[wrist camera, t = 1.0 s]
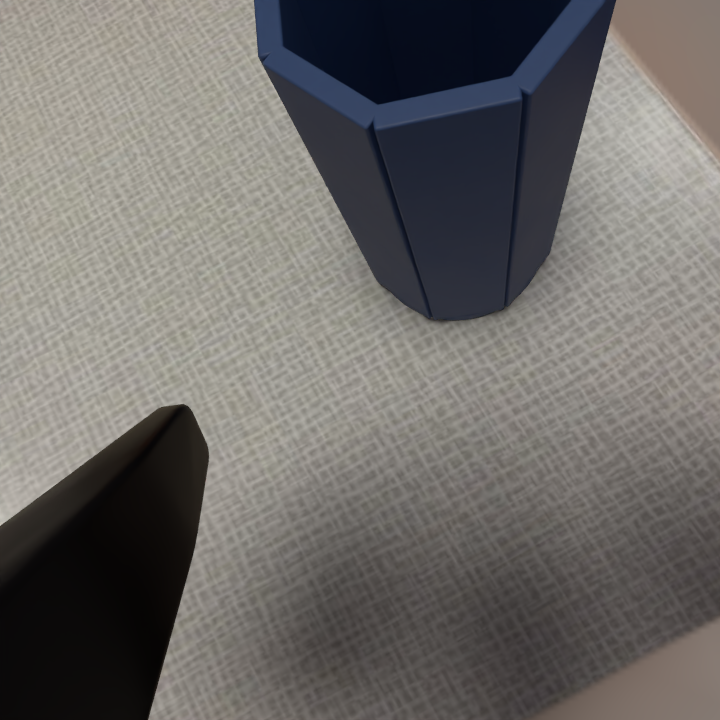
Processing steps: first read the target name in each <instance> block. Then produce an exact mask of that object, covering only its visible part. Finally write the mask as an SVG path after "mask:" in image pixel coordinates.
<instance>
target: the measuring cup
mask: <svg viewBox="0 0 720 720" xmlns="http://www.w3.org/2000/svg"><path fill="white" fill-rule="evenodd" d="M615 2H616V0H254V6H255V19H256V32H257V45H258V57H259V59H260V61H261V63H262V65H263V66H264V68H265V70H266V72H267V74H268V76H269V78H270V80H271V82H272V83H273V85H274V87H275V89H276V91H277V93H278V95H279V97H280V99H281V100H282V102H283V104H284V106H285V108H286V110H287V112H288V114H289V116H290V117H291V119H292V121H293V123H294V125H295V127H296V129H297V131H298V133H299V134H300V136H301V138H302V140H303V142H304V144H305V146H306V148H307V150H308V151H309V153H310V155H311V157H312V159H313V161H314V163H315V165H316V167H317V169H318V170H319V172H320V174H321V176H322V178H323V180H324V182H325V184H326V186H327V187H328V189H329V191H330V193H331V195H332V197H333V199H334V201H335V203H336V204H337V206H338V208H339V210H340V212H341V214H342V216H343V218H344V220H345V221H346V223H347V225H348V227H349V229H350V231H351V233H352V235H353V237H354V238H355V240H356V242H357V244H358V246H359V248H360V250H361V252H362V254H363V255H364V257H365V259H366V261H367V263H368V265H369V267H370V269H371V271H372V272H373V274H374V276H375V278H376V280H377V282H379V283H380V284H381V285H383V286H384V287H386V288H387V289H388V290H390V291H391V292H392V293H393V294H394V295H395V296H396V298H398V299H399V300H400V301H401V302H402V303H404V304H405V305H406V306H408V307H410V308H411V309H413V310H415V311H417V312H419V313H421V314H423V315H425V316H426V317H427V318H429V319H430V318H431V317H433V319H434V320H438V319H444V320H466V319H472V318H477V317H481V316H484V315H487V314H490V313H492V312H494V311H497V310H502V309H504V306H507V307H508V306H509V305H510V304H511V302H512V301H513V300H514V299H515V298H516V297H517V296H518V295H519V294H521V292H522V291H523V290H524V289H525V288H526V287H527V286H528V284H529V283H530V281H531V280H532V278H533V277H534V275H535V273H536V271H537V269H538V268H539V266H540V265H541V264H542V262H543V261H544V260H545V259H546V257H547V256H548V255H549V253H550V250H551V246H552V242H553V238H554V234H555V230H556V227H557V223H558V219H559V215H560V211H561V208H562V204H563V200H564V196H565V192H566V189H567V185H568V181H569V177H570V173H571V170H572V166H573V162H574V158H575V154H576V151H577V147H578V143H579V139H580V135H581V132H582V128H583V124H584V120H585V116H586V113H587V109H588V105H589V101H590V97H591V94H592V90H593V86H594V82H595V78H596V75H597V71H598V67H599V63H600V59H601V56H602V52H603V48H604V44H605V40H606V37H607V33H608V29H609V25H610V21H611V17H612V14H613V9H614V6H615Z"/></svg>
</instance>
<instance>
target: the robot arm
mask: <svg viewBox="0 0 720 720" xmlns="http://www.w3.org/2000/svg"><path fill="white" fill-rule="evenodd" d="M208 462H209V451H208V446H207V443H206V441H205V439H204V437H203V434H202V432H201V430H200V428H199V425H198V423H197V421H196V419H195V417H194V414H193V412H192V411H191V409H190V408H189V407H188V406H186V405H184V404H180V405H173V406H165V407H161V408H159V409H157V410H156V411H154V412H153V413H152V414H150V415H149V416H148V417H146V418H145V419H144V420H142V421H141V422H140V423H138V424H137V425H136V426H134V427H133V428H131V429H130V430H129V431H127V432H126V433H125V434H123V435H122V436H121V437H119V438H118V439H117V440H115V441H114V442H113V443H111V444H110V445H109V446H107V447H106V448H105V449H103V450H102V451H101V452H99V453H98V454H97V455H95V456H94V457H93V458H91V459H90V460H88V461H87V462H86V463H84V464H83V465H82V466H80V467H79V468H78V469H76V470H75V471H74V472H72V473H71V474H70V475H68V476H67V477H66V478H64V479H63V480H62V481H60V482H59V483H58V484H56V485H55V486H54V487H52V488H51V489H50V490H48V491H47V492H45V493H44V494H43V495H41V496H40V497H39V498H37V499H36V500H35V501H33V502H32V503H31V504H29V505H28V506H27V507H25V508H24V509H23V510H21V511H20V512H19V513H17V514H16V515H15V516H13V517H12V518H11V519H9V520H8V521H6V522H5V523H4V524H2V525H1V526H0V720H148V718H149V714H150V711H151V707H152V703H153V700H154V696H155V692H156V689H157V685H158V681H159V678H160V674H161V670H162V667H163V663H164V659H165V656H166V652H167V648H168V645H169V641H170V637H171V634H172V630H173V627H174V623H175V619H176V616H177V612H178V608H179V605H180V601H181V597H182V594H183V590H184V586H185V583H186V579H187V575H188V572H189V568H190V564H191V561H192V557H193V553H194V548H195V544H196V538H197V533H198V527H199V520H200V514H201V507H202V501H203V494H204V488H205V481H206V475H207V468H208Z"/></svg>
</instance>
